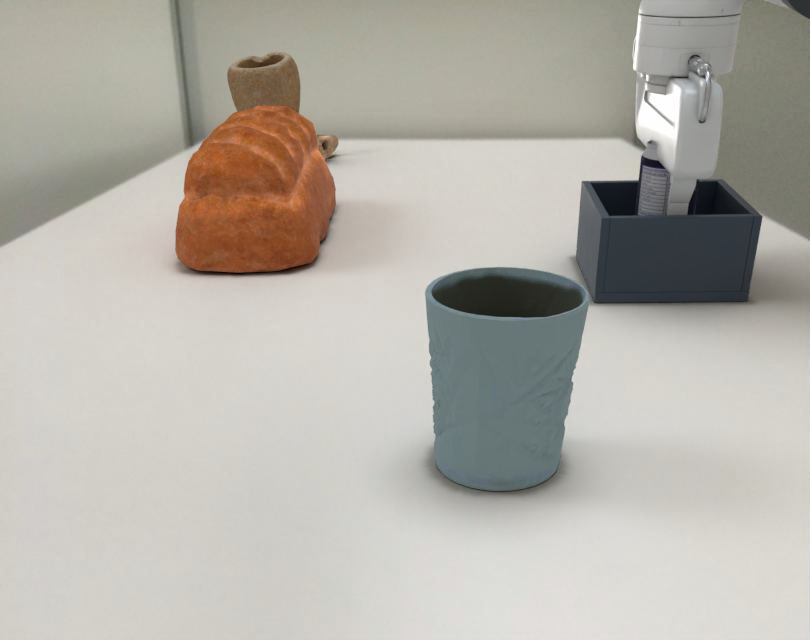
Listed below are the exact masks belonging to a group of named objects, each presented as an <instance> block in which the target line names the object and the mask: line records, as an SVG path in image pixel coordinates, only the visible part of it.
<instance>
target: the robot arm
mask: <svg viewBox="0 0 810 640" xmlns="http://www.w3.org/2000/svg"><path fill="white" fill-rule="evenodd" d="M745 1H746V0H641V1H640V3H639V7H638V11H637V12H638V13H637V22H636V23H637V24H636V33H635V34H636V35H635V37H634V40H633V45H632V60H633V63H632V64H633V65H632V70H633V71H634V72H636V80H635V81H636V83H635V109H634V110H635V113H634V114H635V117H634V118H635V119H634V121H635V133H636V136H637V139H639V141H641V143H642V144H643V145H644V146H645V148H646V147H647V142H648V141H649V140H651V143H652V144H653V145H654V146H657V150H656V153H657V158H658V161H659V162H660V163H661V164H662V165H663V166H664V167H665V168H666V170H667V171H668V172H669V173H670V174H671V175H670V183H671V186H670V192H669V198H668V199H666V209H665V215H687V213H688V206H689V202H690V199H691V197H692V194H693V192H694V189H695V187H696V181H697V179H711V178H712V176H713V175H714V173H715V171H716V168H717V164H718V158H719V149H720V141H721V131H722V123H723V121H722V120H723V109H724V93H723V88H722V86H721V85H720V84H719V83H718V82H717V81H718V76H722V75H726V74H727V75H728V74H729V73H731V72H732V71H733V68H734V61H735V55H736V48H737V41H738V37H739V36H738V35H739V30H740V29H739V28H740V22H741V16H742V10H743V9H742V8H743V5H744V3H745ZM763 1H764V2H768V3H770V4H774V5H776V6H779V7H780V8H781V7H782V8H785V9H790V10H792V11H794V12H796V13H797V14H799V15H801V16H802V17H805V18H807V19H809V20H810V0H763Z"/></svg>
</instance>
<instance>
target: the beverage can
mask: <svg viewBox="0 0 810 640" xmlns="http://www.w3.org/2000/svg"><path fill="white" fill-rule="evenodd" d="M656 150H657V146H654V145H653V144H652V143H651V140H649V141H648V142H647V147H646V146H645V148H644V150H643V152H642V154H641V155H640V162H639V174H638V180H639V181H638V190H637V200H636V209H635V216H639V215H665V209H666V199H668V198H669V192H670V186H671V183H670V175H671V174H670V173H669V172H668V171H667V170H666V168H665V167H664V166H663V165H662V164H661V163H660V162H659V161H658V158H657V153H656ZM698 185H699V179H697V181H696V187H695V189H694V192H693V194H692V197H691V199H690V202H689V206H688V213H687V215H694V214H695V206H696V199H697V192H698Z"/></svg>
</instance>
